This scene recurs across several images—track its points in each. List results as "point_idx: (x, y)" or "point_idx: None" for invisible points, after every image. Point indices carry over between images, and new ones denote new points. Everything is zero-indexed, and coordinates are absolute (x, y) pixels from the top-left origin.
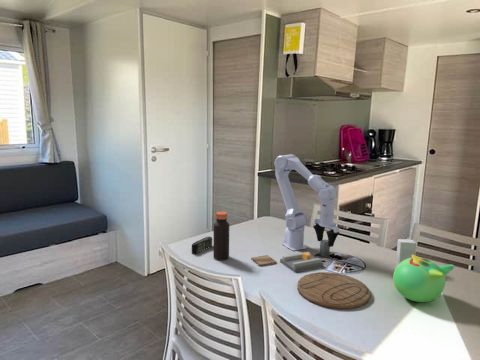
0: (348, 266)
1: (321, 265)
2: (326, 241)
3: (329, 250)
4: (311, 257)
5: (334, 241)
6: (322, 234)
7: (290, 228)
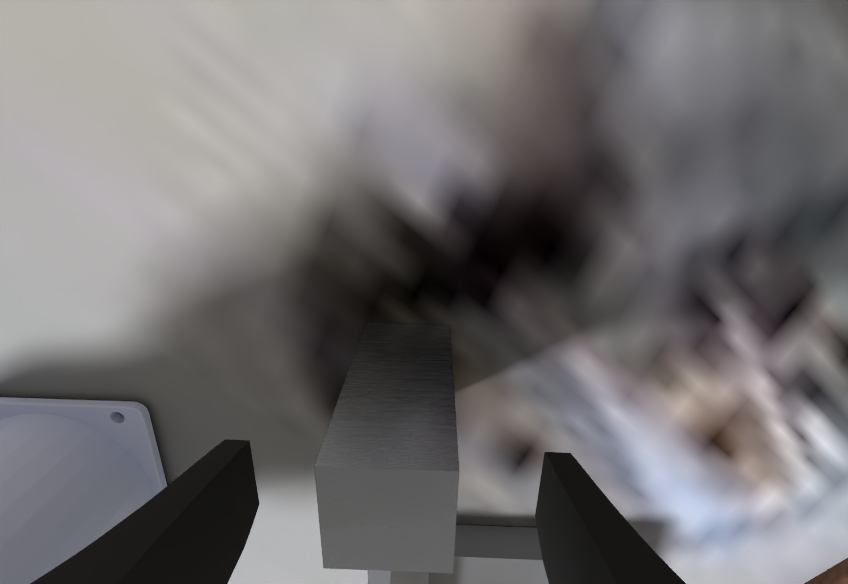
0: (792, 319)
1: None
2: (424, 523)
3: (452, 369)
4: (462, 570)
5: (628, 529)
6: (171, 548)
7: None
